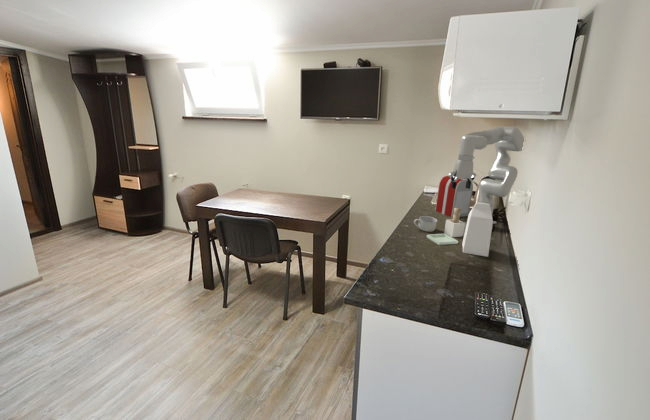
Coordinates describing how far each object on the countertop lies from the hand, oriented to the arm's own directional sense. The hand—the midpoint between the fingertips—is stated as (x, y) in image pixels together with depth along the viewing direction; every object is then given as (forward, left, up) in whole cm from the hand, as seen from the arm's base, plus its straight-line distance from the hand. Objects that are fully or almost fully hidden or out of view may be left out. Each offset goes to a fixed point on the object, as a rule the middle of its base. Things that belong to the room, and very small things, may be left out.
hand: (460, 188), depth 185 cm
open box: (0, 0, -29) cm, 29 cm away
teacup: (+13, -11, -29) cm, 34 cm away
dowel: (0, 0, -28) cm, 28 cm away
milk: (+3, +22, -29) cm, 37 cm away
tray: (+13, +7, -29) cm, 32 cm away
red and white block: (-30, -42, -29) cm, 59 cm away
